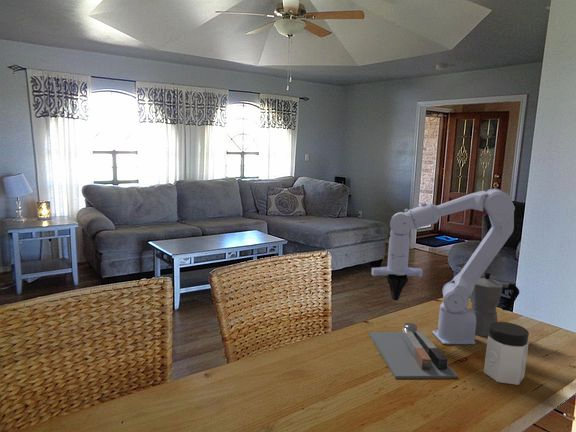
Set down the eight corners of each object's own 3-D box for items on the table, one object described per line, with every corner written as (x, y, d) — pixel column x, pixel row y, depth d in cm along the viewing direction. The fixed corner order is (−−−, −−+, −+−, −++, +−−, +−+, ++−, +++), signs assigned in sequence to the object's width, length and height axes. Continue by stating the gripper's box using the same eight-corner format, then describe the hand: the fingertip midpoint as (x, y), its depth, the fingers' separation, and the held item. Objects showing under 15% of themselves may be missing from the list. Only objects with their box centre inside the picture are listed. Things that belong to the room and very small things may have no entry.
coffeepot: (457, 332, 127) (464, 273, 124) (457, 321, 136) (462, 265, 133) (516, 342, 122) (524, 281, 119) (511, 329, 131) (518, 272, 128)
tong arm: (399, 332, 124) (400, 322, 123) (414, 333, 124) (415, 323, 123) (421, 368, 104) (422, 357, 103) (439, 369, 104) (440, 357, 103)
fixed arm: (414, 339, 119) (414, 331, 119) (421, 339, 120) (422, 331, 119) (438, 369, 104) (439, 359, 103) (446, 369, 104) (447, 359, 103)
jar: (476, 368, 107) (481, 322, 105) (502, 364, 109) (508, 319, 107) (504, 387, 98) (510, 338, 96) (532, 383, 101) (538, 334, 99)
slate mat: (368, 334, 124) (368, 332, 124) (419, 334, 125) (419, 332, 125) (395, 378, 100) (395, 376, 100) (457, 377, 102) (457, 375, 102)
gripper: (377, 257, 119) (374, 304, 122) (428, 258, 121) (424, 304, 123) (370, 251, 126) (367, 295, 129) (418, 251, 128) (415, 295, 130)
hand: (394, 299), depth 126 cm, fingers closed
